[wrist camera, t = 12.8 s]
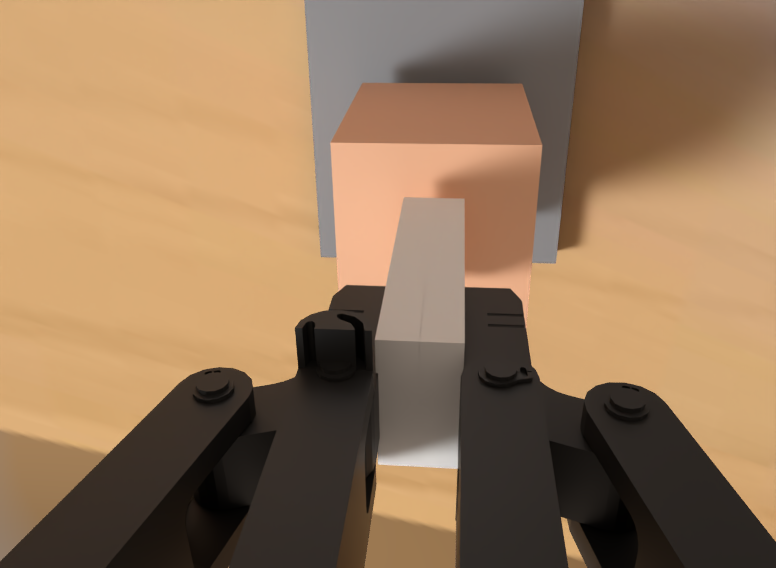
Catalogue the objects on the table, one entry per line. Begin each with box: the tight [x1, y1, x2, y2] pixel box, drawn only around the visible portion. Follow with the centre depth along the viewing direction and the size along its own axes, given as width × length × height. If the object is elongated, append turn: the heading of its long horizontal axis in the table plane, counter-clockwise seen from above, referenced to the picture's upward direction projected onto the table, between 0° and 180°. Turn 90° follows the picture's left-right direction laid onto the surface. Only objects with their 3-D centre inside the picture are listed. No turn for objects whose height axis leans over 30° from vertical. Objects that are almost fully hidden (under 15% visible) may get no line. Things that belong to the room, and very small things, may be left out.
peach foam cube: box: [330, 83, 542, 328], centre depth 22 cm, size 5×5×7 cm
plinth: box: [305, 0, 584, 263], centre depth 25 cm, size 9×11×1 cm
